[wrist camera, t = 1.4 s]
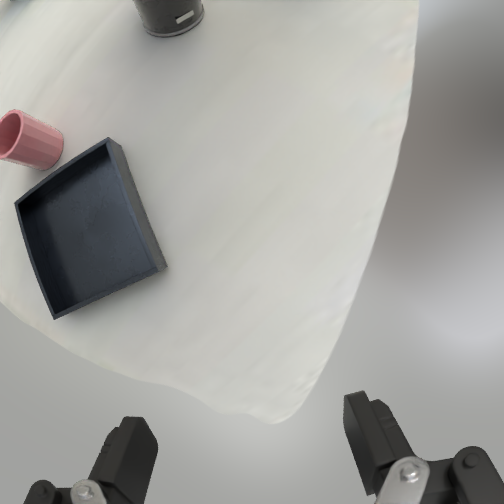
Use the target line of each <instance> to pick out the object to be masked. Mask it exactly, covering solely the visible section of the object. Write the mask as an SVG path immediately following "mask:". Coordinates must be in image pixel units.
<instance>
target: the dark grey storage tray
mask: <svg viewBox="0 0 504 504" xmlns="http://www.w3.org/2000/svg"><path fill="white" fill-rule="evenodd" d="M14 204H15V208H16V212H17V216H18V220H19V224H20V228H21V232H22V235H23V239H24V242H25V245H26V248H27V252H28V255H29V258H30V261H31V264H32V267H33V269H34V272H35V275H36V278H37V280H38V283H39V286H40V288H41V291H42V293H43V296H44V298H45V301H46V303H47V305H48V308H49V310H50V312H51V314H52V317H53V319H54V320H55V319H57V318H60V317H62V316H64V315H66V314H68V313H70V312H72V311H74V310H77V309H79V308H81V307H83V306H85V305H87V304H89V303H91V302H94V301H96V300H98V299H100V298H102V297H104V296H107V295H109V294H111V293H113V292H115V291H117V290H120V289H122V288H124V287H126V286H128V285H131V284H133V283H135V282H137V281H139V280H142V279H144V278H146V277H148V276H150V275H153V274H155V273H157V272H159V271H161V270H163V269H165V268H166V267H168V266H167V263H166V261H165V259H164V257H163V254H162V252H161V250H160V247H159V245H158V242H157V240H156V238H155V235H154V233H153V230H152V228H151V225H150V223H149V220H148V218H147V215H146V213H145V210H144V208H143V205H142V203H141V200H140V197H139V195H138V192H137V189H136V187H135V184H134V181H133V178H132V176H131V173H130V170H129V167H128V164H127V161H126V158H125V155H124V153H123V150H122V147H121V145H119V144H118V143H116V142H115V141H113V140H112V139H110V138H109V137H107V138H106V139H104V140H102V141H101V142H99V143H97V144H96V145H94V146H92V147H91V148H89V149H88V150H86V151H84V152H83V153H81V154H80V155H78V156H77V157H75V158H74V159H72V160H71V161H69V162H68V163H66V164H65V165H63V166H62V167H60V168H59V169H57V170H56V171H55V172H53V173H52V174H50V175H49V176H48V177H46V178H45V179H44V180H42V181H41V182H40V183H38V184H37V185H36V186H34V187H33V188H32V189H31V190H29V191H28V192H27V193H25V194H24V195H23V196H22V197H21V198H19V199H18V200H17V201H16V202H15V203H14Z"/></svg>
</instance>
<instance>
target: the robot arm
mask: <svg viewBox="0 0 504 504" xmlns="http://www.w3.org/2000/svg"><path fill="white" fill-rule="evenodd" d="M133 2H134V4H135V6H136V8H137V10H138V12H139V15H140V17H141V19H142V21H143V25H144V27H145V29H146V31H147V32H148V33H150V34H152V35H154V36H159V37H169V36H175V35H179V34H182V33H184V32H186V31H188V30H190V29H192V28H193V27H194V26H196V25H197V24H198V23H199V22H200V20H201V19H202V17H203V13H204V11H203V5H202V2H201V0H133ZM343 415H344V416H343V423H344V429H345V433H346V436H347V438H348V442H349V444H350V447H351V450H352V453H353V456H354V459H355V461H356V465H357V467H358V470H359V473H360V476H361V479H362V482H363V485H364V488H365V491H366V494H367V496H368V495H371V494H374V493H375V495H376V498H377V499H376V501H375V503H374V504H504V483H503V481H502V479H501V477H500V475H499V474H498V472H497V470H496V469H495V467H494V465H493V463H492V462H491V460H490V458H489V457H488V455H487V453H486V452H485V451H484V450H483V449H482V448H480V447H476V446H470V447H466V448H463V449H462V450H460V451H459V452H458V453H457V454H456V455H455V457H454V458H450V459H444V460H439V461H425V460H423V459H422V458H419V457H417V456H416V455H415V454H414V452H413V451H412V449H411V447H410V445H409V443H408V441H407V439H406V438H405V436H404V434H403V432H402V430H401V428H400V427H399V425H398V423H397V421H396V419H395V418H394V417H393V414H392V412H391V411H390V409H389V407H388V406H387V405H386V404H385V403H383V402H382V401H380V400H379V399H377V400H374V401H371V402H370V401H369V399H368V397H367V395H366V393H365V392H364V391H359V392H355V393H352V394H348V395H345V396H344V414H343ZM157 453H158V443H157V440H156V438H155V436H154V435H153V433H152V431H151V430H150V428H149V426H148V425H147V423H146V421H145V419H144V418H143V417H129V416H126V417H124V418H123V420H122V422H121V424H120V426H119V427H115V428H114V429H113V430H112V431H111V432H110V433H109V435H108V436H107V438H106V440H105V442H104V446H102V449H101V453H99V456H98V458H97V460H96V462H95V464H94V466H93V469H92V471H91V473H90V475H89V477H88V479H86V480H81V481H78V482H77V483H76V484H74V485H73V487H72V488H56V487H55V486H54V485H53V484H51V482H49V481H47V480H39V481H37V482H35V483H34V484H33V485H32V486H31V488H30V490H29V493H28V495H27V497H26V499H25V501H24V504H144V500H145V497H146V493H147V489H148V485H149V482H150V478H151V474H152V471H153V467H154V464H155V460H156V456H157Z"/></svg>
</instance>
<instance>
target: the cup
mask: <svg viewBox="0 0 504 504" xmlns="http://www.w3.org/2000/svg"><path fill="white" fill-rule="evenodd" d="M62 149H63V137H62V134H61V133H60V132H59V131H58V130H56V129H55V128H53V127H51V126H49V125H47V124H45V123H43V122H41V121H39V120H38V119H36V118H34V117H32V116H30V115H28V114H26V113H24V112H22V111H20V110H16V109H14V110H12V111H9V112H8V113H7V114H5V115H4V116H3V117H2V119H1V120H0V159H1V160H4V161H8V162H12V163H16V164H20V165H24V166H27V167H31V168H35V169H39V170H47V169H49V168H51V167H52V166H53V165H54V164H55V163H56V162H57V161H58V159H59V157H60V155H61V153H62Z"/></svg>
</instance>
